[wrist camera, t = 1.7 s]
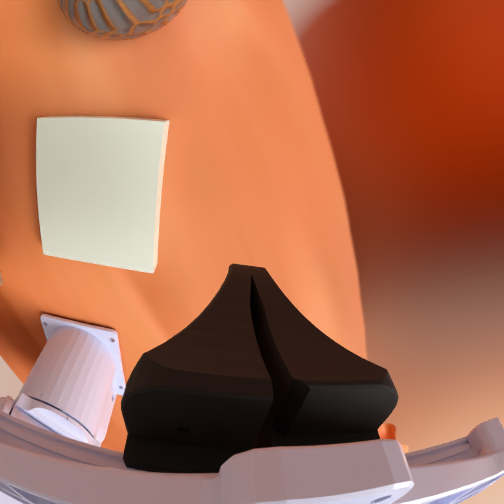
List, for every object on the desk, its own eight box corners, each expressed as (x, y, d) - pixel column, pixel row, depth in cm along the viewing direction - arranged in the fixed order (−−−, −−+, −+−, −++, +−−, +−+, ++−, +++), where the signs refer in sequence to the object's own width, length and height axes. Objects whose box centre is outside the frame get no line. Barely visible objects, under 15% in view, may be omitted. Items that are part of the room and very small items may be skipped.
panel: (158, 260, 22) (153, 273, 20) (54, 243, 21) (43, 254, 19) (171, 119, 17) (164, 121, 16) (51, 115, 16) (37, 118, 15)
